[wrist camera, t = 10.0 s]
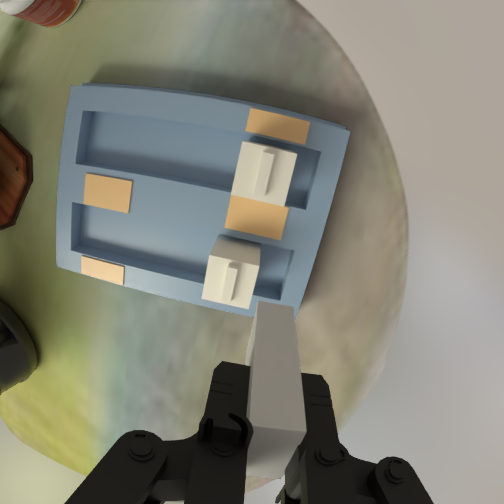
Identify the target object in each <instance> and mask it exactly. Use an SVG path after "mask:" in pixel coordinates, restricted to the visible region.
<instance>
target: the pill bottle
mask: <svg viewBox="0 0 504 504" xmlns="http://www.w3.org/2000/svg"><path fill="white" fill-rule="evenodd" d="M80 3H81V0H0V8H1V10H2V11H3V12H5V13H7V14H9V15H12V16H16V17H19V18H22V19H25V20H28V21H31V22H34V23H37V24H39V25H42V26H45V27H49V28H52V27H57V26H60V25H62V24H63V23H65V22H66V21H68V20H69V19H70V18H71V17H72V16H73V14H74V13H75V12H76V10H77V9H78V7H79V5H80Z"/></svg>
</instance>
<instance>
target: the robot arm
mask: <svg viewBox="0 0 504 504" xmlns="http://www.w3.org/2000/svg"><path fill="white" fill-rule="evenodd" d="M36 366H37V354H36V350H35V347H34V344H33V342H32V340H31V337H30V336H29V334H28V332H27V330H26V329H25V327H24V325H23V324H22V323H21V321H20V320H19V319H18V317H17V316H16V315H15V314H14V313H13V311H12V310H11V309H10V308H9V307H8V306H6V305H5V304H4V303H3V302H1V301H0V395H1V394H2V393H3V392H4V391H6V390H8V389H9V388H11V387H13V386H14V385H16V384H17V383H20V382H23V381H25V380H27V379H28V378H29V377H30V375H31V374H32V373H33V372H34V370H35V369H36ZM330 398H331V395H330V390H329V385H328V384H327V382H326V381H325V380H324V378H323V377H322V375H316V374H307V373H301V369H300V360H299V351H298V342H297V334H296V325H295V317H294V309H293V307H291V306H286V305H280V304H274V303H269V302H263V301H258V303H257V307H256V312H255V316H254V321H253V325H252V330H251V334H250V339H249V343H248V347H247V352H246V362H245V365H241V364H236V363H230V362H225V361H222V362H221V363H220V364H219V365H218V366H217V367H216V368H215V369H214V372H213V376H212V381H211V385H210V390H209V394H208V399H207V403H206V408H205V413H204V416H203V417H202V419H201V421H200V423H199V431H198V432H197V433H196V434H194V435H193V436H191V437H189V438H186V439H183V440H171V441H162V439H161V438H160V437H158V436H157V435H155V434H154V433H151V432H148V431H145V430H134V431H130V432H127V433H125V434H124V435H122V436H121V437H120V438H119V439H118V440H117V441H116V443H115V444H114V445H113V446H112V447H111V449H110V450H109V451H108V452H107V453H106V455H105V456H104V457H103V458H102V459H101V461H100V462H99V463H98V464H97V465H96V467H95V468H94V469H93V470H92V471H91V473H90V474H89V475H88V476H87V477H86V479H85V480H84V481H83V482H82V484H81V485H80V486H79V487H78V488H77V489H76V490H75V492H74V493H73V494H72V495H71V496H70V498H69V499H68V500H67V501H66V502H65V504H164V503H165V501H180V500H185V501H184V504H244V493H245V480H246V476H253V477H262V478H273V479H281V478H282V476H283V474H284V473H285V485H284V486H283V488H282V490H281V491H280V493H279V495H278V496H277V497H276V501H275V503H279V502H280V500H281V504H434V503H433V502H432V500H431V498H430V496H429V495H428V493H427V491H426V490H425V488H424V486H423V485H422V483H421V481H420V479H419V478H418V476H417V474H416V473H415V471H414V469H413V468H412V467H411V466H410V464H409V463H408V462H407V461H405V460H403V459H402V458H398V457H386V458H384V459H382V460H380V461H379V463H378V464H376V463H372V462H368V461H364V460H360V459H358V458H355V457H353V456H351V455H350V454H349V453H348V450H347V449H346V448H345V447H344V446H343V445H342V444H341V443H340V442H339V439H338V433H337V427H336V422H335V416H334V411H333V408H332V400H331V399H330Z"/></svg>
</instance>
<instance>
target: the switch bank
mask: <svg viewBox="0 0 504 504" xmlns="http://www.w3.org/2000/svg"><path fill="white" fill-rule="evenodd" d="M345 129H346V126H343V125H340V124H336V123H333V122H330V121H326V120H323V119H319V118H315V117H312V116H308V115H304V114H300V113H296V112H293V111H288V110H284V109H280V108H276V107H271V106H267V105H262V104H258V103H253V102H248V101H243V100H238V99H233V98H227V97H222V96H216V95H210V94H203V93H197V92H190V91H182V90H174V89H166V88H157V87H147V86H135V85H122V84H103V83H82V86H71V89H70V94H69V99H68V105H67V111H66V117H65V123H64V130H63V137H62V145H61V154H60V164H59V175H58V189H57V211H56V261H57V267H60V268H63V269H66V270H70V271H73V272H76V273H80V274H83V275H86V276H90V277H93V278H97V279H100V280H104V281H107V282H111V283H114V284H118V285H122V286H125V287H129V288H133V289H136V290H140V291H144V292H148V293H152V294H156V295H159V296H163V297H167V298H171V299H175V300H180V301H184V302H188V303H192V304H196V305H200V306H205V307H209V308H213V309H218V310H222V311H227V312H231V313H236V314H240V315H245V316H250V317H254V316H255V312H256V307H257V303H258V301H263V302H269V303H274V304H280V305H286V306H291V307H293V309H294V317H295V319H296V316H297V313H298V310H299V307H300V304H301V301H302V298H303V295H304V292H305V289H306V286H307V283H308V280H309V277H310V273H311V270H312V267H313V264H314V261H315V258H316V254H317V251H318V248H319V244H320V241H321V238H322V234H323V231H324V228H325V224H326V221H327V217H328V214H329V210H330V207H331V203H332V200H333V196H334V193H335V189H336V185H337V182H338V178H339V174H340V171H341V167H342V163H343V159H344V155H345V151H346V147H347V143H348V139H349V135H350V131H347V130H345ZM246 140H247V141H252V142H256V143H261V144H265V145H270V146H274V147H278V148H282V149H287V150H291V151H293V152H295V153H296V154H297V157H296V161H295V165H294V170H293V174H292V178H291V182H290V186H289V189H288V193H287V197H286V201H285V205H284V207H283V206H279V205H274V204H270V203H266V202H261V201H257V200H253V199H248V198H244V197H239V196H235V195H231V191H232V186H233V182H234V177H235V172H236V168H237V163H238V159H239V154H240V150H241V145H242V141H246ZM219 234H221V235H226V236H230V237H235V238H239V239H244V240H248V241H253V242H257V243H261V248H260V266H259V270H258V274H257V278H256V282H255V286H254V290H253V294H252V298H251V302H250V306H249V309H245V308H240V307H236V306H231V305H227V304H222V303H218V302H213V301H209V300H205V299H202V293H203V287H204V281H205V276H206V270H207V265H208V259H209V255H210V252H211V250H212V248H213V246H214V244H215V241H216V239H217V237H218V235H219Z"/></svg>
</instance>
